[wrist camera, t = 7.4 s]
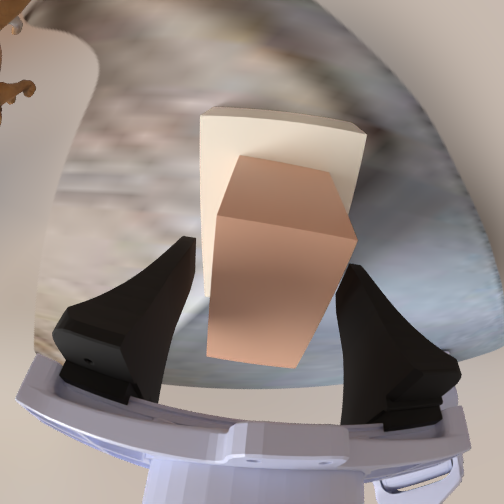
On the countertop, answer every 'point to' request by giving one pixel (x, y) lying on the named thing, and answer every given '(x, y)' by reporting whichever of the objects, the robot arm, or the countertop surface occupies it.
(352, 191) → the cream base brick
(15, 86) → the lion figurine
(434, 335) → the countertop surface
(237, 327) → the terracotta brick
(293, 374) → the countertop surface
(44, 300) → the countertop surface
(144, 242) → the countertop surface
